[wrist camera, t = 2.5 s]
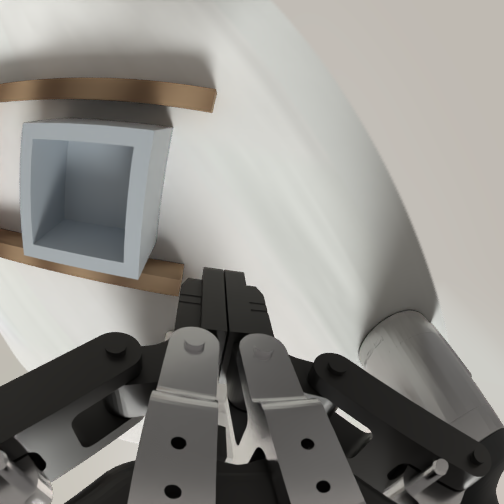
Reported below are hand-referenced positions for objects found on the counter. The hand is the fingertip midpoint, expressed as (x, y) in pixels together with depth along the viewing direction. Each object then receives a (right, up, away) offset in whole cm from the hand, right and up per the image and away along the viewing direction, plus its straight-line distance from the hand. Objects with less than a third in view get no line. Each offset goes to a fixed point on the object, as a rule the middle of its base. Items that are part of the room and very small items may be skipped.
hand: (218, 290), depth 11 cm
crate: (-10, +7, +9) cm, 15 cm away
